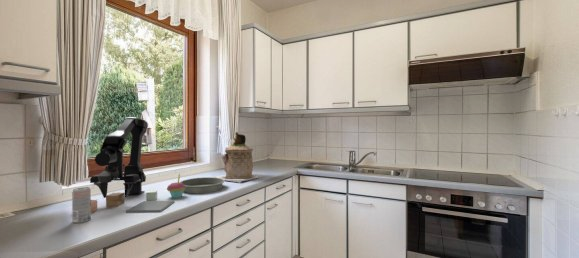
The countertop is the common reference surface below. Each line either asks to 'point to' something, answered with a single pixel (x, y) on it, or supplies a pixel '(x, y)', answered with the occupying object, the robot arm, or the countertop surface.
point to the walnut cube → (114, 199)
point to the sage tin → (151, 195)
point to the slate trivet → (150, 206)
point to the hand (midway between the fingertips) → (115, 197)
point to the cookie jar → (238, 161)
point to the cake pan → (202, 185)
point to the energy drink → (81, 205)
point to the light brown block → (93, 206)
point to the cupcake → (176, 189)
